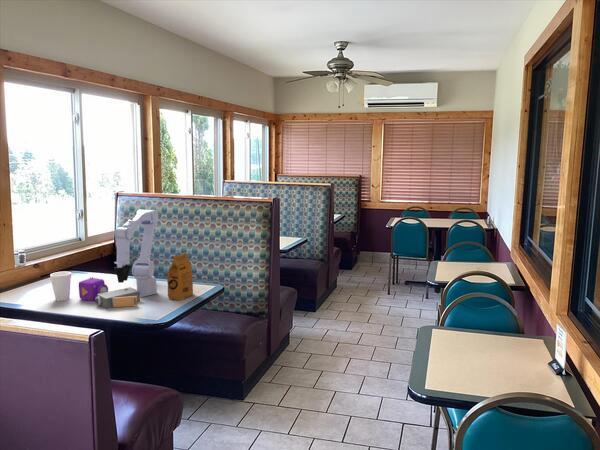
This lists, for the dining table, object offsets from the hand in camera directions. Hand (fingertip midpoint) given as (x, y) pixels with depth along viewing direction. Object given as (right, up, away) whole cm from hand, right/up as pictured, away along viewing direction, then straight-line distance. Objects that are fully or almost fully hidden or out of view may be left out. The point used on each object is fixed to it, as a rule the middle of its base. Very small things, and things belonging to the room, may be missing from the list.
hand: (122, 281), depth 241 cm
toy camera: (-19, -11, +15) cm, 27 cm away
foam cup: (-35, -11, +15) cm, 40 cm away
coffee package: (+23, -10, +17) cm, 31 cm away
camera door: (+1, -12, +1) cm, 12 cm away
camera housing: (-5, -11, +8) cm, 15 cm away
